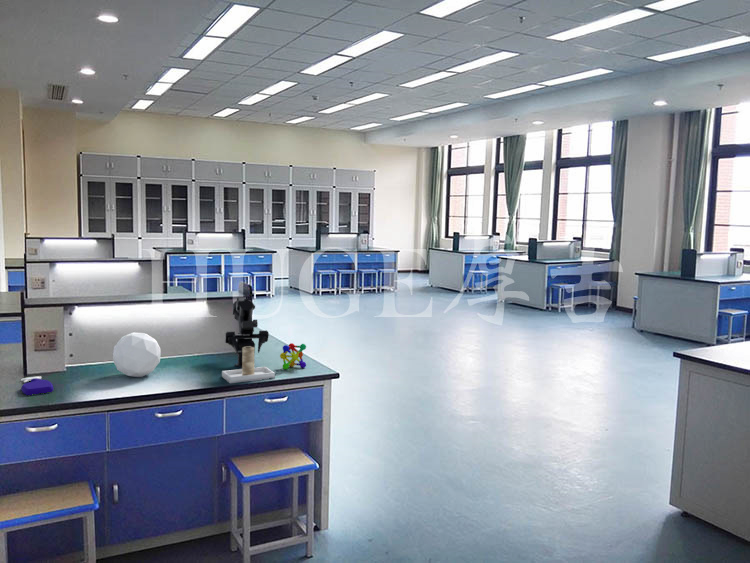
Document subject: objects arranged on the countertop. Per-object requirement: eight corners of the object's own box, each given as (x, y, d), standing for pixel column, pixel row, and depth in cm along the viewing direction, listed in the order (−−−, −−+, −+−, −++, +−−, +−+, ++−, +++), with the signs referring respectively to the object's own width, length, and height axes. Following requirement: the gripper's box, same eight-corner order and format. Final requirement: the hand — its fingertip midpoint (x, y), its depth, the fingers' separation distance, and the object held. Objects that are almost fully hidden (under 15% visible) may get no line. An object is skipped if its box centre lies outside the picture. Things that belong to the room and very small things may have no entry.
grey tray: (229, 383, 260) (229, 377, 260) (222, 376, 270) (222, 371, 270) (274, 378, 270) (274, 372, 269) (265, 371, 280) (265, 366, 280)
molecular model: (283, 370, 283) (284, 345, 282) (278, 367, 289) (279, 342, 288) (307, 368, 288) (307, 344, 287) (301, 365, 295) (302, 341, 294)
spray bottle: (55, 386, 241) (46, 373, 261) (23, 390, 235) (16, 376, 255) (55, 393, 241) (46, 379, 261) (23, 397, 235) (17, 383, 255)
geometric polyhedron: (148, 392, 268) (161, 361, 258) (101, 378, 262) (112, 346, 252) (158, 362, 283) (171, 332, 273) (114, 348, 277) (125, 317, 267)
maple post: (240, 376, 268) (240, 348, 266) (244, 373, 273) (244, 345, 271) (251, 377, 267) (252, 348, 266) (256, 374, 272) (256, 346, 271)
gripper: (225, 313, 270) (227, 343, 261) (268, 312, 275) (271, 342, 266) (224, 328, 278) (226, 357, 269) (266, 326, 284) (268, 355, 275)
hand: (248, 352), depth 270 cm, fingers open, 9 cm apart
